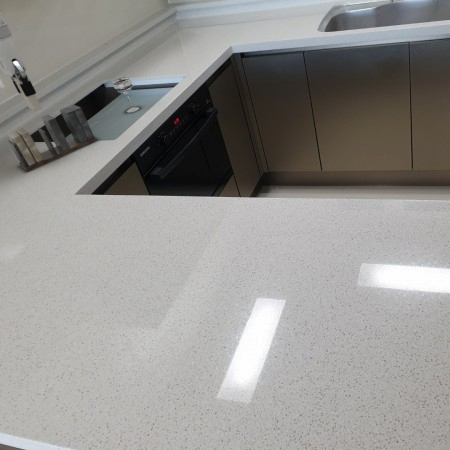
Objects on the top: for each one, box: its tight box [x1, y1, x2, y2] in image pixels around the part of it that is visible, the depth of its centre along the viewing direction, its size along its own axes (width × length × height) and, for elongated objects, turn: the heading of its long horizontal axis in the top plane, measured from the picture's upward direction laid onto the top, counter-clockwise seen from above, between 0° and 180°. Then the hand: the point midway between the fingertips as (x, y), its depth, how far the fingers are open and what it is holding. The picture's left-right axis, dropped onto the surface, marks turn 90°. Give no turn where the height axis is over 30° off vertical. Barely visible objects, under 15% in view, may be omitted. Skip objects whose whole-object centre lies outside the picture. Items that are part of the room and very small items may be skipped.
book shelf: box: [7, 104, 98, 172], centre depth 154 cm, size 24×8×12 cm, turn 134°
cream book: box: [13, 76, 43, 112], centre depth 145 cm, size 2×6×10 cm, turn 44°
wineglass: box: [112, 76, 140, 113], centre depth 178 cm, size 7×7×12 cm
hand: (27, 92), depth 145 cm, fingers closed on cream book, 6 cm apart
